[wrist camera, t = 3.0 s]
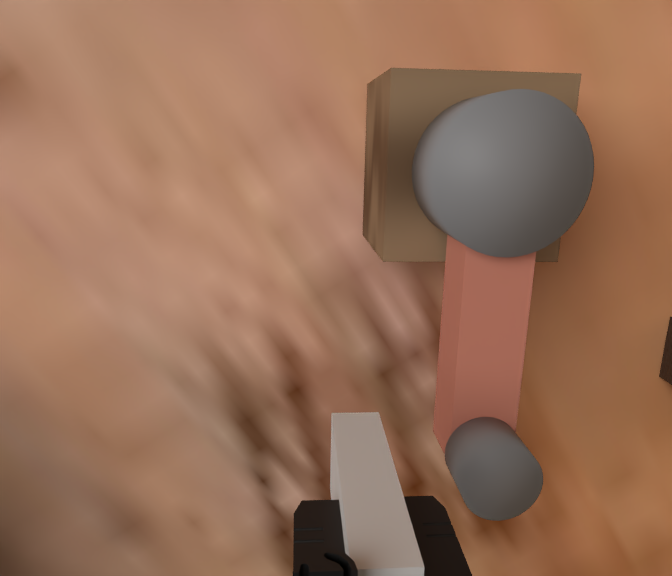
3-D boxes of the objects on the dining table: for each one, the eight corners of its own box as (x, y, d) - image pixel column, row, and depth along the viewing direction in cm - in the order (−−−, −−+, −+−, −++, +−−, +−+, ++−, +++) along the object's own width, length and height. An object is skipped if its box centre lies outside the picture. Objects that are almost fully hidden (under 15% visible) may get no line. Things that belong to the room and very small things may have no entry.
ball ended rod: (415, 94, 22) (454, 81, 17) (558, 97, 23) (637, 86, 18) (396, 448, 27) (423, 523, 21) (517, 444, 27) (572, 517, 22)
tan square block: (500, 235, 32) (557, 261, 25) (362, 234, 31) (383, 261, 24) (515, 87, 30) (581, 73, 23) (367, 84, 29) (391, 67, 22)
